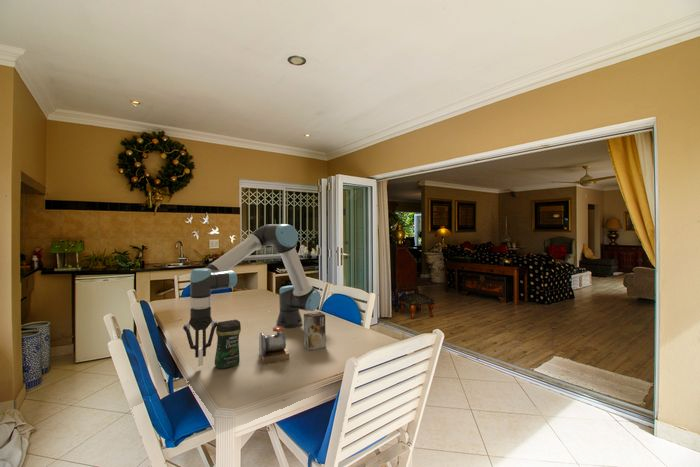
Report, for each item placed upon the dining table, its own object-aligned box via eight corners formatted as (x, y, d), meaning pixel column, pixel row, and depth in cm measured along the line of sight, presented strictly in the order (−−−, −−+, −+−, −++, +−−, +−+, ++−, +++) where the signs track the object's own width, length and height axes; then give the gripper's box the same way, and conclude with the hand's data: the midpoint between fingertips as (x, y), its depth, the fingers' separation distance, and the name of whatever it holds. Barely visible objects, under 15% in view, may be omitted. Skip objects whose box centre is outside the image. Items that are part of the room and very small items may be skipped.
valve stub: (283, 350, 150) (283, 323, 149) (289, 360, 139) (289, 330, 138) (258, 354, 145) (258, 326, 145) (263, 364, 134) (263, 334, 134)
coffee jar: (219, 371, 127) (220, 324, 127) (212, 364, 133) (213, 320, 133) (242, 364, 134) (243, 321, 134) (234, 359, 140) (236, 316, 140)
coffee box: (320, 343, 159) (320, 311, 159) (325, 347, 153) (325, 314, 153) (303, 346, 155) (303, 313, 155) (308, 350, 149) (307, 316, 149)
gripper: (217, 303, 135) (217, 358, 135) (182, 306, 130) (182, 363, 130) (218, 307, 128) (218, 365, 129) (181, 310, 123) (181, 371, 123)
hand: (200, 364), depth 129 cm, fingers closed
